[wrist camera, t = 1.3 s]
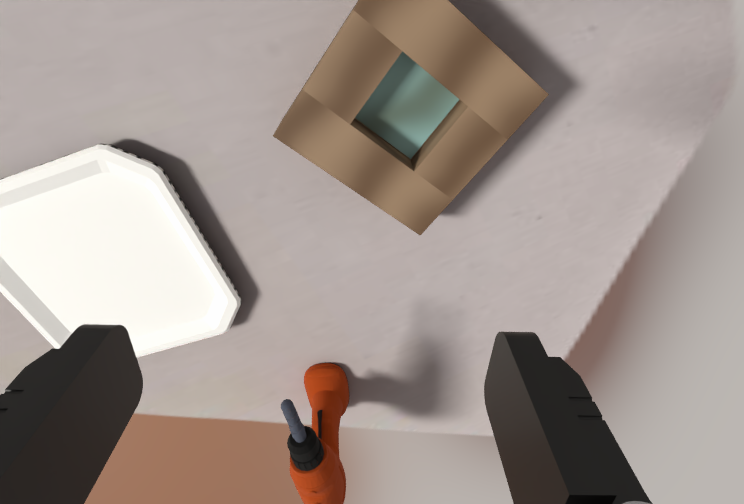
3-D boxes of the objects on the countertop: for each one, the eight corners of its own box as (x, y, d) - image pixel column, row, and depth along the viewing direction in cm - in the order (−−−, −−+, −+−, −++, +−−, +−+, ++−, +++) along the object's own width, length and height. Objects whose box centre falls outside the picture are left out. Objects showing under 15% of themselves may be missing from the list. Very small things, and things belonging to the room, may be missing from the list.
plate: (259, 312, 46) (255, 326, 44) (89, 360, 48) (78, 375, 47) (147, 123, 35) (135, 131, 33) (-61, 198, 38) (-83, 209, 36)
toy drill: (324, 287, 42) (315, 436, 30) (353, 398, 54) (354, 536, 42) (274, 293, 42) (246, 443, 30) (313, 402, 54) (304, 541, 42)
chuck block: (281, 121, 35) (272, 135, 32) (388, -48, 29) (392, -52, 26) (414, 213, 40) (420, 235, 36) (529, 83, 34) (548, 94, 31)
